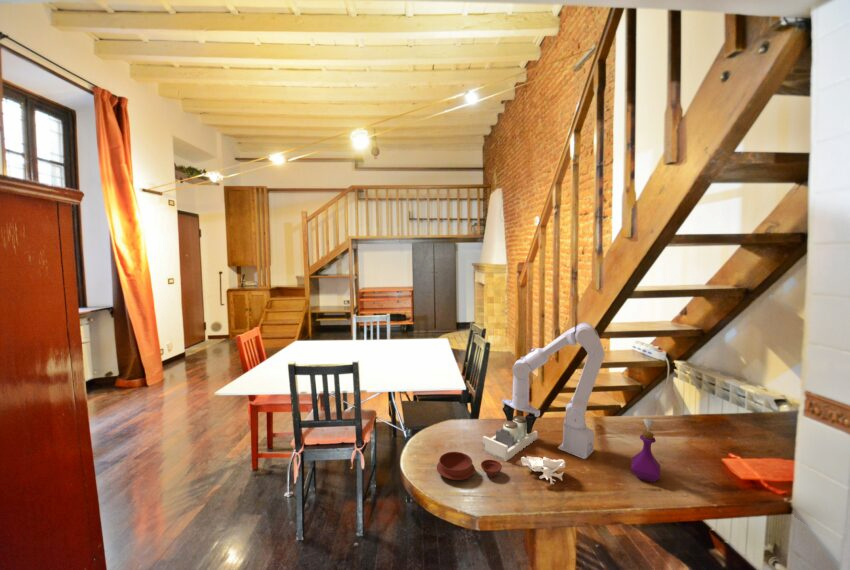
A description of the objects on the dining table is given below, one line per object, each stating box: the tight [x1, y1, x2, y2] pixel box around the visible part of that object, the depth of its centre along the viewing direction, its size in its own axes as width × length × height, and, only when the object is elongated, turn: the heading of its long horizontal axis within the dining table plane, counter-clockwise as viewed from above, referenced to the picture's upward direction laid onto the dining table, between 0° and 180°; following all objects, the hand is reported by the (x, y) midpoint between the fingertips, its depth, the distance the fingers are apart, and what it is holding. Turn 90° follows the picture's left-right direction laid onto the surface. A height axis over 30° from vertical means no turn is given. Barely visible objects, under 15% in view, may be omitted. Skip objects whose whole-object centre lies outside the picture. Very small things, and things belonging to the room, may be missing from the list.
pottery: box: [436, 451, 503, 481], centre depth 112 cm, size 12×20×4 cm, turn 89°
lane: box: [482, 430, 538, 462], centre depth 130 cm, size 9×21×5 cm, turn 135°
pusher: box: [495, 427, 514, 449], centre depth 127 cm, size 7×1×6 cm, turn 45°
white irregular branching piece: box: [520, 456, 566, 485], centre depth 111 cm, size 12×7×12 cm
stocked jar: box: [502, 420, 518, 445], centre depth 129 cm, size 5×5×7 cm
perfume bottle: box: [631, 418, 662, 483], centre depth 111 cm, size 8×8×18 cm
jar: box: [513, 415, 527, 440], centre depth 133 cm, size 5×5×7 cm
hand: (519, 429), depth 134 cm, fingers open, 7 cm apart
